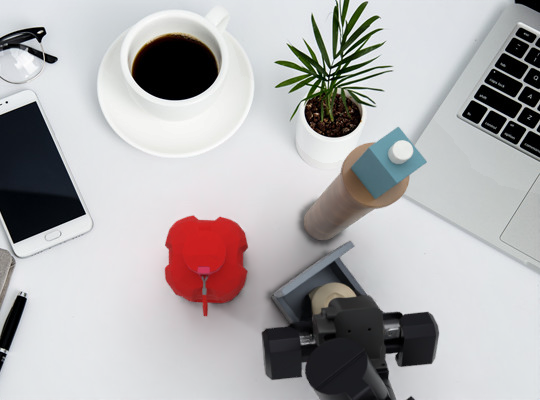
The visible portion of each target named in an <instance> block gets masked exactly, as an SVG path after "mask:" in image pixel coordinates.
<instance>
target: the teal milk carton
mask: <svg viewBox="0 0 540 400" xmlns="http://www.w3.org/2000/svg"><path fill="white" fill-rule="evenodd" d="M427 163H428V161H427V160H426V159H425V157H424V156H423V155H422V154H421V152H420V151H419V150H418V149H417V147H416V146H415V145H414V143H413V142H412V141H411V140H410V139H409V137H408V136H407V135H406V134H405V132H404V131H403V130H402V128H401V127H400V126H397V127H396V128H394V129H393V130H390V132H388V133H387V134H385V135H384V136H383V137H381V138H380V139H378V140H377V141H376V143H374V144H373V145H371V146H370V147H369V148H368V149H367V150H366V151H365V152H364V153H363V154H362V156H361V157H360V158H359V159H358V160H357V161H356V162H355V163H354V164H353V166H352V167H351V169H352V170H353V172H354V173H355V174H356V176H357V177H358V178H359V179H360V181H361V182H362V183H363V185H364V186H365V187H366V188H367V190H368V191H369V192H370V194H371V195H372V196H373V197H374V199H377V198H378V197H379V196H381V195H382V194H384V193H385V192H387V191H388V190H389V189H391V188H392V187H394V186H395V185H396V184H398V183H399V182H401V181H402V180H403V179H405V178H406V177H407V176H409V177H410V175H412V174H413V173H415V172H416V171H418V170H419V169H420V168H421V167H422V166H424V165H426V164H427Z"/></svg>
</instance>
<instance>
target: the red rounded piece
mask: <svg viewBox="0 0 540 400" xmlns="http://www.w3.org/2000/svg"><path fill="white" fill-rule="evenodd" d="M164 246H165V248H166V249H167V250H168V264H167V265H166V266H165V267H164V279H165V281H166V283H167V285H168V286H169V288H170V289H171V290H172V292H173V293H174V294H175V295H176V296H178V297H182V298H183V299H185V301H188V302H191V303H192V302H193V303H202V315H203V317H205V318H206V317H208V312H209V304H226V303H228V302H231V301H232V300H234V299H235V298H236V297H237V296H238V295H239V294H240V292H241V291H242V289H243V288H245V285H246V281H247V276H248V273H249V272H248V269H246V268H245V266H244V253H245V252H246V251H247V250H248V249H249V245H248V240H247V235H246V232H245V231H244V229H243V228H242V227H241V226H240V224H239V223H237V222H236V221H234V220H232V219H230V218H227V217H223V216H219V217H217V218H215V219H198V217H196V216H195V215H188V216H185V217H183V218H180V219H178V220H176V221H175V222H174V223H173V224H172V225H171V227H169V230H168V232H167V235H166V238H165V244H164Z"/></svg>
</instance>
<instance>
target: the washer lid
mask: <svg viewBox="0 0 540 400" xmlns="http://www.w3.org/2000/svg"><path fill="white" fill-rule="evenodd" d="M354 247H355V245H354V242H352V241H351V240H348V241H346V242H344V243H343V244H341V245H339V246H338V247H336V248H334V249H332V250H330V252H328V253H327V254H325V255H324V256H322V257H321V258H320V259H318V260H317V261H315V262H314V263H313V264H312V265H310V266H309V267H307V268H306V269H304V270H303V271H302V272H300V273H299V274H298V275H296V276H294V277H293V278H292V279H291V280H289V281H287V282H286V283H284V284H283V285H281V286H280V287H279V288H278V289H276V290H275V291H273V292H272V295H275V297H276V298H279V297H283V296H286V295H287V294H289V293H290V292H291V291H293V290H294V289H296V288H297V287H298V286H300V285H301V284H303V283H304V282H305V281H307V280H308V279H310V278H311V277H312V276H314V275H315V274H317V273H318V272H319V271H321V270H322V269H324V268H325V267H326V266H328V265H329V264H331V263H332V262H333V261H335V260H336V259H338V258H341V257H342V256H343V255H345V254H346V253H348V252H349V251H350V250H352V249H353V248H354Z"/></svg>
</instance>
